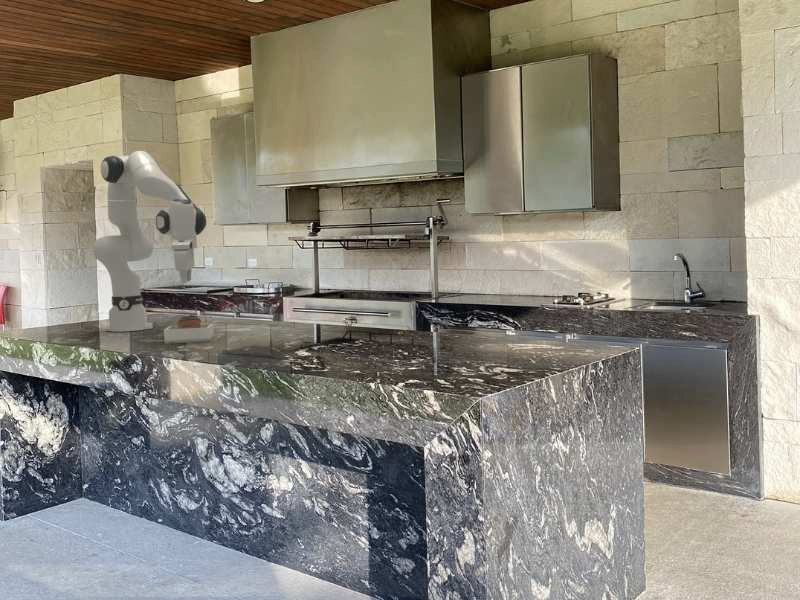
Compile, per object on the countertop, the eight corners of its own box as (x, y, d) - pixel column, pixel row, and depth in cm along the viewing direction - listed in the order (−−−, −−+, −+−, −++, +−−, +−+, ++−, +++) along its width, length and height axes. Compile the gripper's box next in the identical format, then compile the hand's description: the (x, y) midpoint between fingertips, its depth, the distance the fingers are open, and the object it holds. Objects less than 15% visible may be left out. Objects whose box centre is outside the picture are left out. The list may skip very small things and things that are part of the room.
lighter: (199, 336, 312) (202, 319, 319) (198, 330, 310) (200, 312, 317) (177, 338, 311) (180, 320, 319) (175, 332, 309) (178, 314, 317)
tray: (170, 339, 318) (169, 325, 317) (214, 337, 319) (213, 323, 319) (164, 343, 306) (163, 329, 305) (209, 341, 307) (209, 327, 307)
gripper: (180, 243, 319) (182, 280, 321) (170, 245, 299) (172, 284, 300) (197, 242, 320) (199, 279, 321) (188, 244, 299) (190, 283, 301)
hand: (186, 281), depth 311 cm, fingers open, 8 cm apart
